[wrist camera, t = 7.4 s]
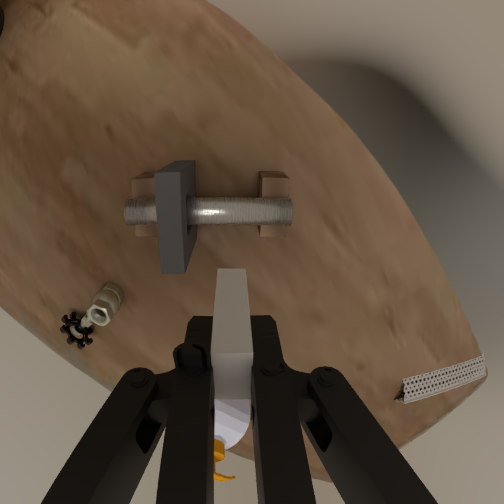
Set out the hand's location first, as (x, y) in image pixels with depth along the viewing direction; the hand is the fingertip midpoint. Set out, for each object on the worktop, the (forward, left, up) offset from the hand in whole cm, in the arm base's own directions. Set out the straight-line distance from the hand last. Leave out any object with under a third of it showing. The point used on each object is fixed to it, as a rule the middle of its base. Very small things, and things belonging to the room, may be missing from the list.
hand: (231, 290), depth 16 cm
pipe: (0, -3, -18) cm, 19 cm away
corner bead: (+42, +52, -24) cm, 71 cm away
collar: (0, -6, -22) cm, 23 cm away
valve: (+17, -22, -24) cm, 37 cm away
